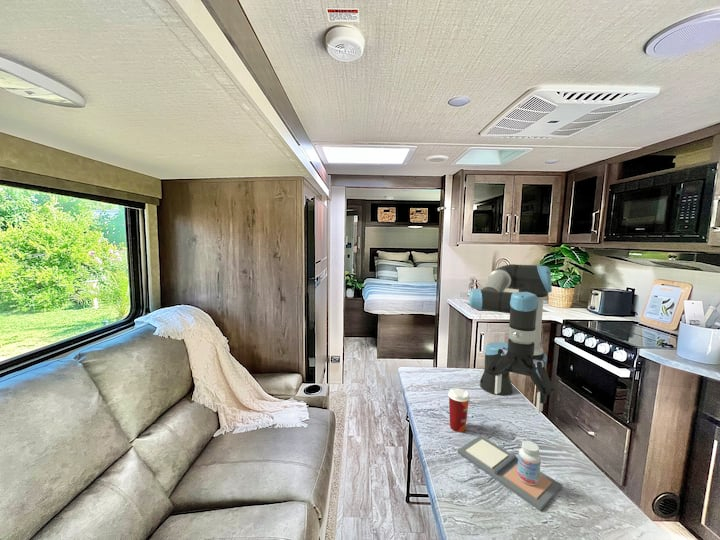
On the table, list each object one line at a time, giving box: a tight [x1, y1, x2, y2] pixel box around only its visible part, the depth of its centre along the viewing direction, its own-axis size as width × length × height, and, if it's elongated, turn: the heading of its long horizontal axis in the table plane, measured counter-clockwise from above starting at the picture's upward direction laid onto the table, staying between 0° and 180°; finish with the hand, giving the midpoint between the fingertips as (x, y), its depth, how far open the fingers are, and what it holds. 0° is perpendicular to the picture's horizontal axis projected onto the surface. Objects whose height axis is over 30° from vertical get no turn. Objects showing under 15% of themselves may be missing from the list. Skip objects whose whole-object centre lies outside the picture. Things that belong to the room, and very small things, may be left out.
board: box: [457, 435, 563, 512], centre depth 100 cm, size 14×28×2 cm, turn 35°
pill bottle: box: [517, 440, 542, 485], centre depth 93 cm, size 6×6×11 cm
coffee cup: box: [447, 387, 471, 433], centre depth 120 cm, size 8×8×15 cm
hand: (517, 401), depth 99 cm, fingers open, 13 cm apart
